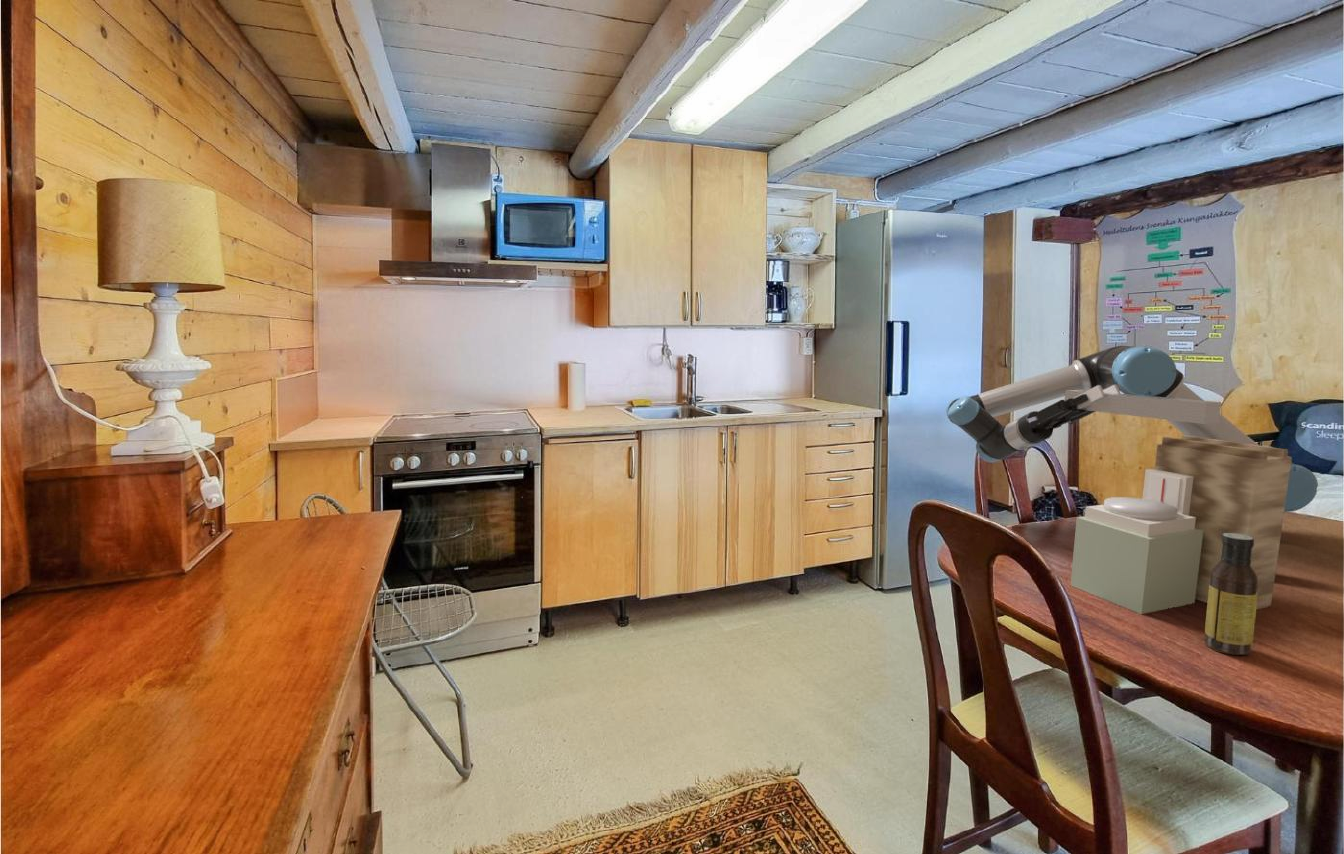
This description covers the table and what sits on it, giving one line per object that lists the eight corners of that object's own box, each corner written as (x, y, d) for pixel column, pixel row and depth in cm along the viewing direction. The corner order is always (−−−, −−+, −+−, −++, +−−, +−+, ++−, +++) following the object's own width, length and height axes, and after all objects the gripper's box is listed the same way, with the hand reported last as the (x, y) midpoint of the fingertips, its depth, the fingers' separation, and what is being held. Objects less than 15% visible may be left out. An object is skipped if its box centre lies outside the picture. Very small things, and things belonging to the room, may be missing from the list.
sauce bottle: (1260, 654, 108) (1276, 540, 105) (1231, 659, 107) (1247, 543, 104) (1220, 637, 114) (1234, 529, 111) (1192, 641, 113) (1206, 531, 110)
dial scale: (1084, 518, 135) (1089, 471, 133) (1135, 511, 140) (1140, 466, 138) (1147, 536, 123) (1153, 485, 121) (1201, 528, 127) (1207, 479, 126)
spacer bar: (1063, 407, 150) (1065, 390, 149) (1077, 407, 151) (1078, 390, 150) (1203, 423, 121) (1206, 402, 121) (1218, 423, 123) (1221, 402, 122)
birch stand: (1142, 579, 140) (1158, 437, 136) (1174, 574, 144) (1190, 434, 139) (1237, 613, 123) (1258, 452, 119) (1270, 606, 127) (1293, 449, 122)
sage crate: (1070, 585, 138) (1076, 517, 135) (1120, 576, 142) (1127, 510, 140) (1141, 614, 123) (1149, 539, 121) (1194, 603, 128) (1203, 530, 126)
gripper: (1060, 442, 163) (1145, 404, 142) (1007, 446, 158) (1086, 407, 137) (1050, 415, 166) (1131, 374, 145) (997, 417, 160) (1073, 375, 140)
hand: (1109, 390), depth 141 cm, fingers closed on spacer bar, 4 cm apart
